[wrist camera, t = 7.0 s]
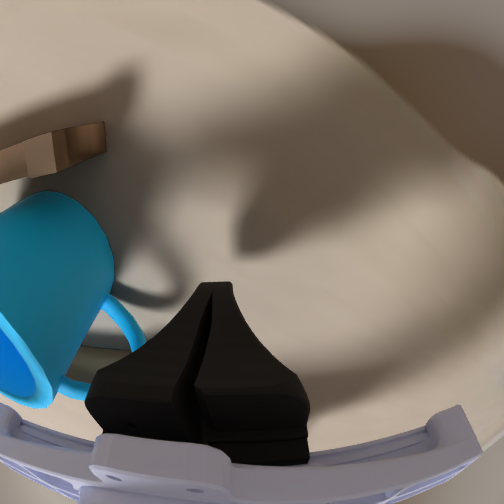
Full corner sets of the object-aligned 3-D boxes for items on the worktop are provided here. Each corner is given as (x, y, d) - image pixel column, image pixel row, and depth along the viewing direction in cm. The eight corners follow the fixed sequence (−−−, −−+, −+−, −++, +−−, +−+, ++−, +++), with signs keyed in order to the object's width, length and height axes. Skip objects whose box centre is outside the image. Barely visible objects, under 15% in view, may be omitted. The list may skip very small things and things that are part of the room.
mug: (5, 264, 15) (-62, 336, 8) (29, 164, 12) (-79, 221, 5) (138, 357, 18) (108, 457, 11) (197, 282, 16) (171, 413, 8)
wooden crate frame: (158, 366, 19) (145, 416, 15) (14, 346, 19) (-7, 379, 15) (103, 121, 11) (51, 131, 8) (-50, 174, 11) (-89, 195, 7)
